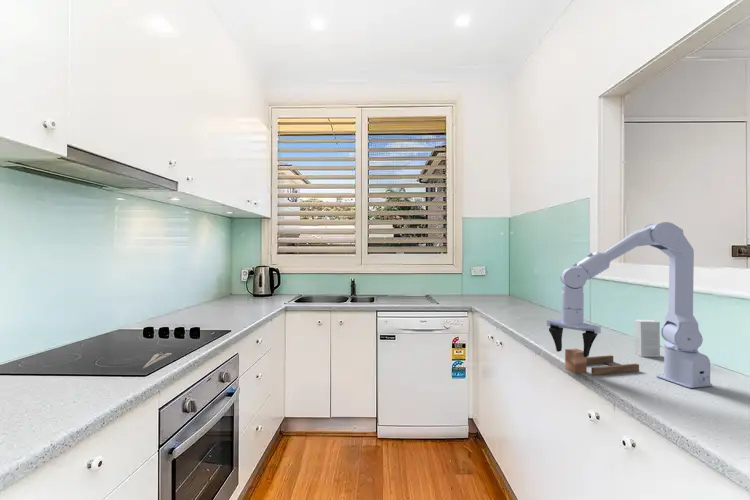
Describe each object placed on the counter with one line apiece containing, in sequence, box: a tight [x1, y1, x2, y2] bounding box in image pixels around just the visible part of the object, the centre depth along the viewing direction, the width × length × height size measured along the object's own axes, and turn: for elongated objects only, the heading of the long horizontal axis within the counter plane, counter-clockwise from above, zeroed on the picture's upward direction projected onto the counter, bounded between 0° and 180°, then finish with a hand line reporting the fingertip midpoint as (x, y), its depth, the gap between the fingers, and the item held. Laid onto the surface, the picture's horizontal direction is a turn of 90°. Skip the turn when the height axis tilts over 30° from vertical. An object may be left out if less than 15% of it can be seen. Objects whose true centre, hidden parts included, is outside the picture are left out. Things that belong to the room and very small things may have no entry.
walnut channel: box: [587, 354, 640, 376], centre depth 115 cm, size 10×16×2 cm, turn 104°
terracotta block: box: [564, 348, 588, 374], centre depth 113 cm, size 4×4×6 cm
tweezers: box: [143, 352, 172, 368], centre depth 120 cm, size 17×5×2 cm, turn 5°
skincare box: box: [633, 319, 661, 358], centre depth 129 cm, size 6×4×12 cm
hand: (572, 353), depth 113 cm, fingers open, 7 cm apart
